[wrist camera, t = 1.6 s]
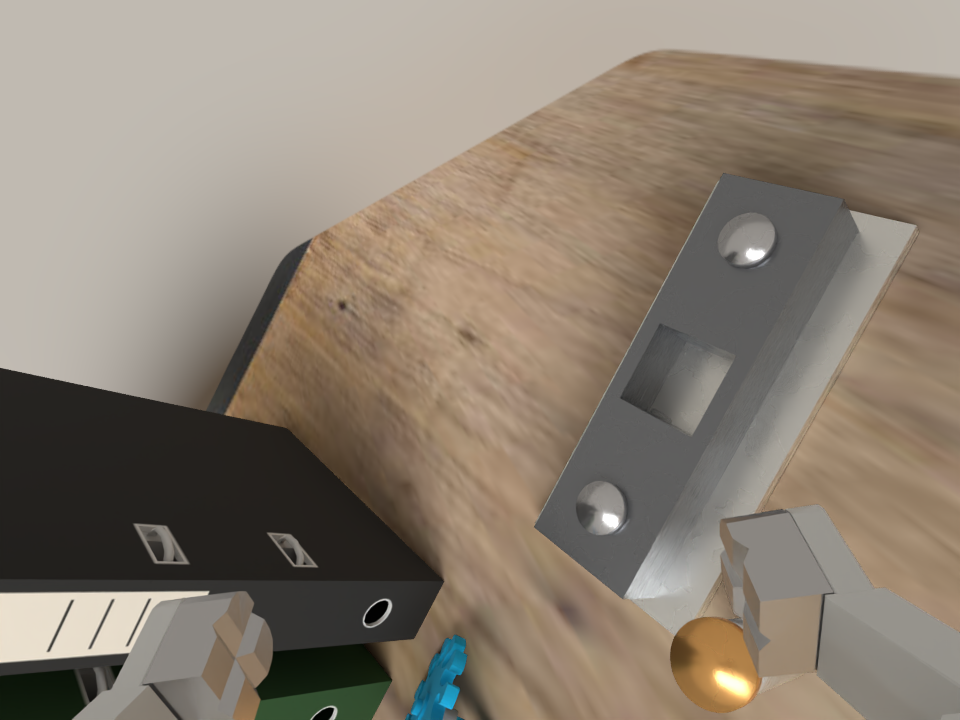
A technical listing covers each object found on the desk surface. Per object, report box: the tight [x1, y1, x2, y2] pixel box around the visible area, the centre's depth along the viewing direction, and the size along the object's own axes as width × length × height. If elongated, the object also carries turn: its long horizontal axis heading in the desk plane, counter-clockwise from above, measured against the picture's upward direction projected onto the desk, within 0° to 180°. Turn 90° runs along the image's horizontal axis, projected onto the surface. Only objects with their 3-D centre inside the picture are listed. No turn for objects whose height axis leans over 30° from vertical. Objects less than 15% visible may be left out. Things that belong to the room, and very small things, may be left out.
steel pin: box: [670, 617, 805, 713], centre depth 31 cm, size 4×4×10 cm
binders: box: [0, 368, 444, 720], centre depth 47 cm, size 27×15×32 cm, turn 55°
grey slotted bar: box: [534, 173, 919, 635], centre depth 38 cm, size 26×12×6 cm, turn 145°
